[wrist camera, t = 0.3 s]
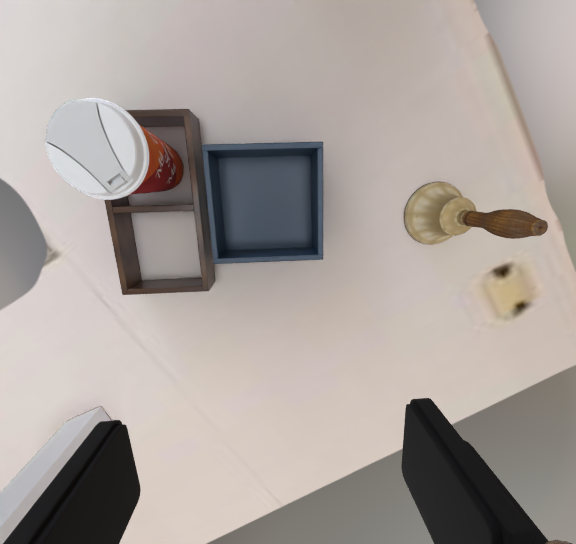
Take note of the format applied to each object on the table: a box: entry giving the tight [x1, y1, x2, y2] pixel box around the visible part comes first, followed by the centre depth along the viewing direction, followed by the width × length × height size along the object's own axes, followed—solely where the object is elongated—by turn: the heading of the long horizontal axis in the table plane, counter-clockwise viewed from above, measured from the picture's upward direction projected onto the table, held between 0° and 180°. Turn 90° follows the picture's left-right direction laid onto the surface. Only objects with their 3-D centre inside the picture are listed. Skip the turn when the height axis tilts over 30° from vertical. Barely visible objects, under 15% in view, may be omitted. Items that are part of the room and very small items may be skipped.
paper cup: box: [45, 98, 183, 200], centre depth 28 cm, size 8×8×14 cm
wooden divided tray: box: [105, 109, 215, 295], centre depth 35 cm, size 20×11×4 cm, turn 2°
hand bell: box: [404, 182, 548, 244], centre depth 31 cm, size 8×8×16 cm
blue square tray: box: [202, 142, 323, 264], centre depth 34 cm, size 13×13×6 cm
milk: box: [0, 407, 111, 544], centre depth 34 cm, size 6×6×22 cm
